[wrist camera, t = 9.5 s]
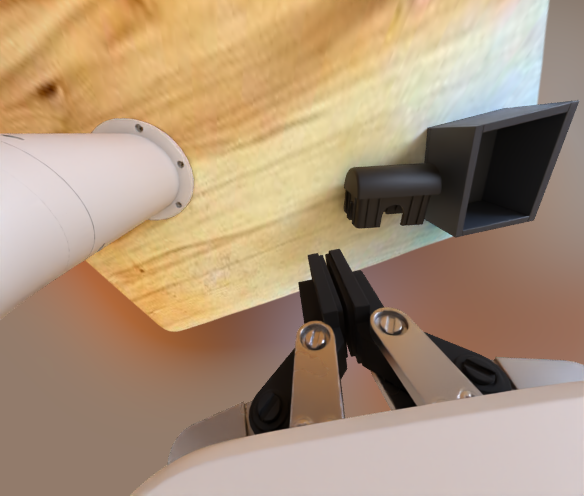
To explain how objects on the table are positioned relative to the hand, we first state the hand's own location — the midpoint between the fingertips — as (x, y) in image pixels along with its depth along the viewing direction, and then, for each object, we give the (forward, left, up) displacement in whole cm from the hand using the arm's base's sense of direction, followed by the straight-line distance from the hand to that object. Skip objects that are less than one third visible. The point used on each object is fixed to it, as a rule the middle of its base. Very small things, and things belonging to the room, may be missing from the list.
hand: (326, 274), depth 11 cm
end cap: (+11, -3, -22) cm, 24 cm away
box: (+23, -3, -21) cm, 32 cm away
